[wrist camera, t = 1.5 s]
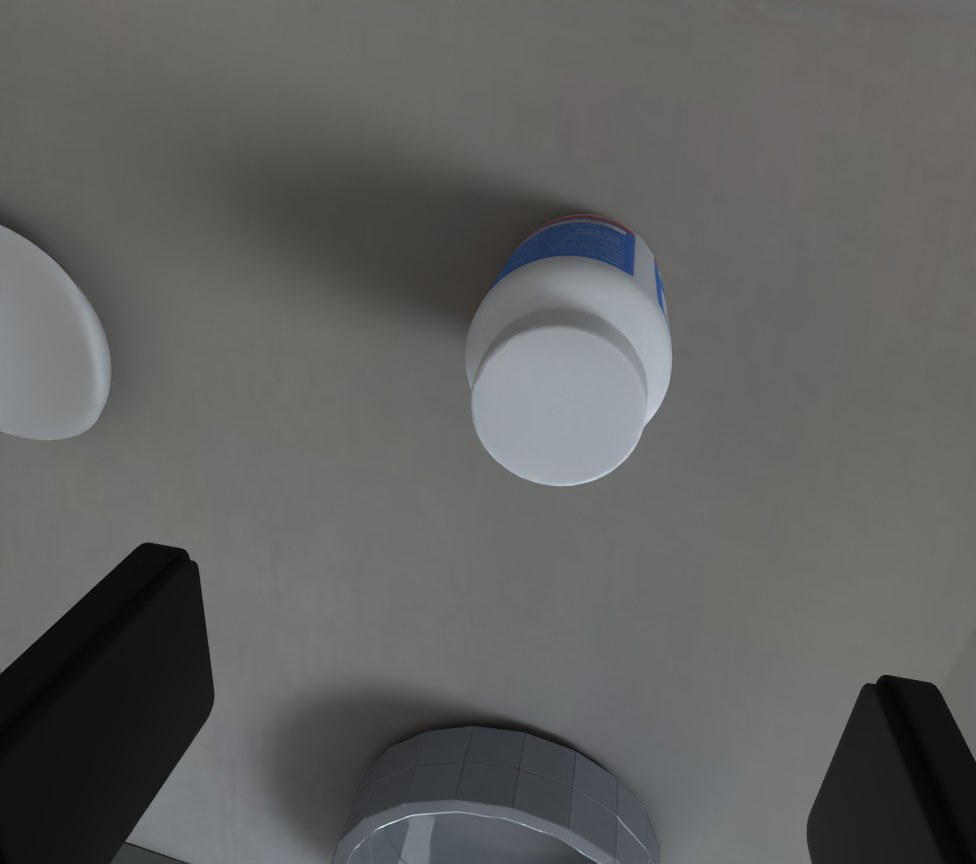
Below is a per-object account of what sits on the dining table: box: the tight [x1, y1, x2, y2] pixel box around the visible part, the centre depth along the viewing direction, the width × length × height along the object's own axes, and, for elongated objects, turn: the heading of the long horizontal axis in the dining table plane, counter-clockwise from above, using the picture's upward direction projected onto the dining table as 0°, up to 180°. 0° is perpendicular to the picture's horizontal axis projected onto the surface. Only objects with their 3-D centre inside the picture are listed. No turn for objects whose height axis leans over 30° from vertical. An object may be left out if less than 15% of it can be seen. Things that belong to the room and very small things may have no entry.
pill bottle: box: [465, 214, 672, 486], centre depth 20 cm, size 6×5×10 cm
